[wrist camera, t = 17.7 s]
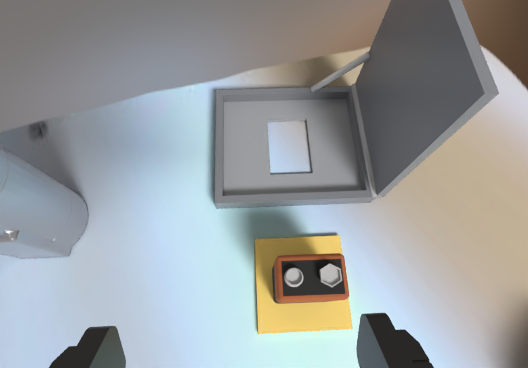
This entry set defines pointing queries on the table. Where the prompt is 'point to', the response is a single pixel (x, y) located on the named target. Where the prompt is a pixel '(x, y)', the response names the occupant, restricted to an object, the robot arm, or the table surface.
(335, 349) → the table surface
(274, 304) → the yellow sticky note
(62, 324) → the table surface
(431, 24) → the equipment case
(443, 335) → the table surface
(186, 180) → the table surface
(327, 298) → the battery
